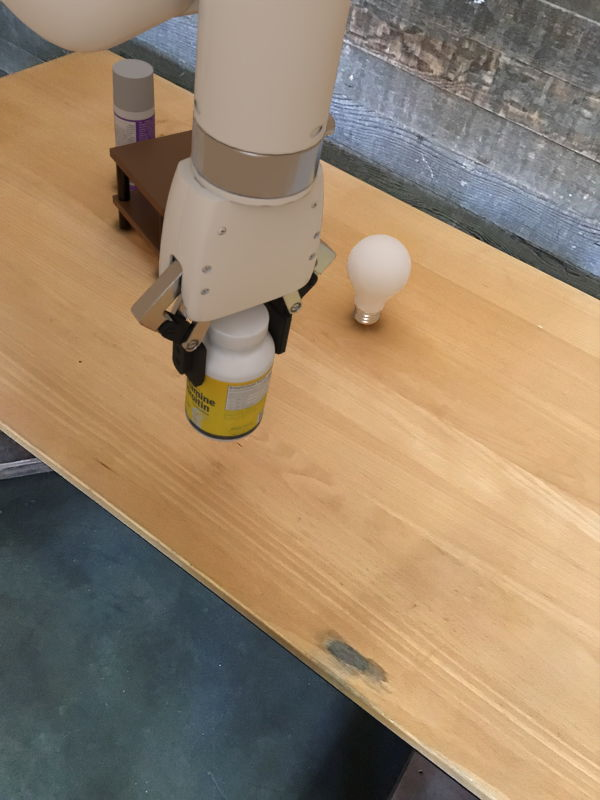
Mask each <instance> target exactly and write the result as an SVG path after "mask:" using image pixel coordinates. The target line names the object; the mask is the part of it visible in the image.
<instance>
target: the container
mask: <svg viewBox="0 0 600 800" xmlns="http://www.w3.org/2000/svg"><path fill="white" fill-rule="evenodd" d="M111 69H112V71H111V72H112V102H113V103H112V104H113V105H112V106H113V110H112V111H113V125H114V142H115V144H114V145H115V146H114V147H117V146H122V145H126V144H131V143H135V142H140V141H144V140H148V139H153V138H156V106H155V105H156V103H155V102H156V101H155V78H154V68H153V65H151V64H150V63H148V62H146V61H145V60H141V59H136V58H125V59H120V60H118V61H115V63H113V64H112V67H111ZM136 189H138V188H137V187H136V186H135V185H134V183H133V182H132V181H131V180H130V191H132V190H136Z"/></svg>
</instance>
